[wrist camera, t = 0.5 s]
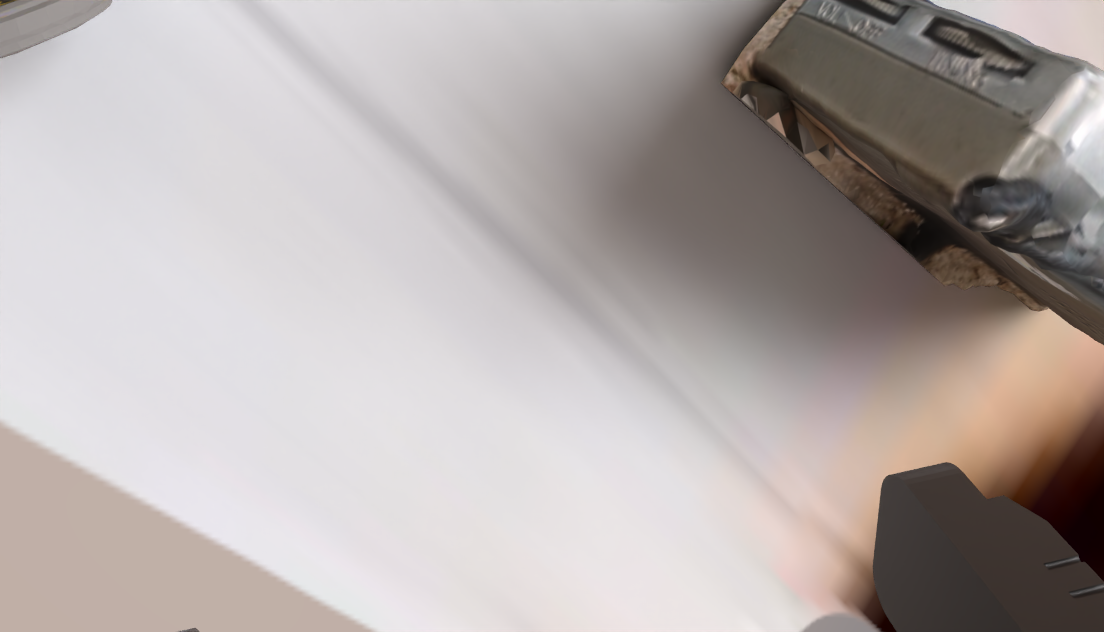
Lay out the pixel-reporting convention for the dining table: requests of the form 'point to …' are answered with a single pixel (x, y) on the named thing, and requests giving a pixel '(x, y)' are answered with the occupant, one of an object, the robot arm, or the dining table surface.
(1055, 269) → the radio
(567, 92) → the dining table surface
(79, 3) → the pocket watch
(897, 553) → the robot arm
